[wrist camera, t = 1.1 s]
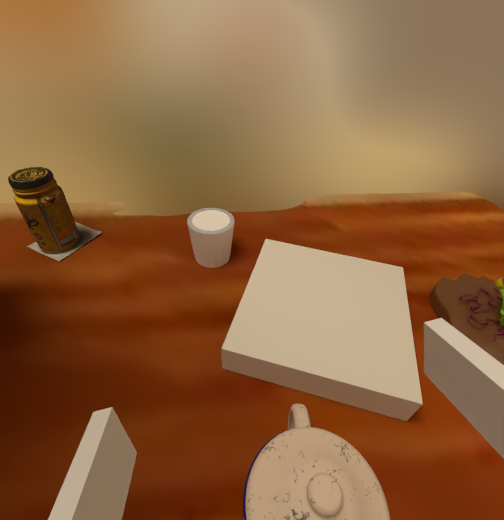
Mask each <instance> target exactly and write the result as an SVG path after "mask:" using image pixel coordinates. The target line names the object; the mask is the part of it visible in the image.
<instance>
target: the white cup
mask: <svg viewBox="0 0 504 520" xmlns="http://www.w3.org/2000/svg"><path fill="white" fill-rule="evenodd" d="M187 224H188V228H189V233H190V237H191V242H192V247H193V251H194V256H195V259H196V261H197V263H199V264H200V265H201V266H204V267H207V268H216V267H220V266H223V265H224V264H226V263H227V262H228V260H229V259H230V253H231V245H232V236H233V228H234V217H233V216H232V214H231V213H229V212H227V211H226V210H222V209H218V208H205V209H200V210H198V211H195V212H193V213H192V214H191V215H190V216H189V217H188V221H187Z"/></svg>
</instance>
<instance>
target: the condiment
mask: <svg viewBox="0 0 504 520" xmlns="http://www.w3.org/2000/svg"><path fill="white" fill-rule="evenodd" d="M8 180H9V183H10V185H11V187H12V189H13V192H14V193H15V196H14V200H15V202H16V204H17V206H18V208H19V210H20V212H21V213H22V215H23V217H24V219H25V221H26V223H27V225H28V227H29V228H30V231H31V233H32V235H33V237H34V238H35V240H36V242H34V243H33V244H31V245H29V246H27V247H29V248H31V249H33V250H35V251H37V252H39V253H41V254H43V255H46V256H48V257H50V258H53V259H55V260H57V261H60V260H62V259H63V258H65V257H67V256H68V255H70V254H71V253H73V252H75V251H76V250H77V249H79V248H80V247H82V246H83V245H84V244H85V243H87V242H89V241H90V240H92V239H94V238H95V237H96V236H97V235H99V234H100V233H102V232H100V231H97V230H94V229H91V228H89V227H86V226H84V225H82V224H79V223H77V222H75V221H74V218H73V216H72V213H71V211H70V208H69V206H68V203H67V201H66V198H65V196H64V193H63V191H62V189H61V188H60V186H58V185H57V183H56V180H55V179H54V178H53V174H52V172H51V171H50V170H48V169H47V168H42V167H30V168H24V169H21V170H18V171H16V172H14V173H12V174H11V175H10V176H9V178H8Z"/></svg>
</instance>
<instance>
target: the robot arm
mask: <svg viewBox="0 0 504 520" xmlns="http://www.w3.org/2000/svg"><path fill="white" fill-rule="evenodd" d="M424 373H425V374H426V376H427V377H428V378H429V379H430V380H431V381H432V382H433V383H434V384H435V385H436V386H437V387H438V388H439V390H440V391H441V392H442V393H443V394H444V395H445V396H446V397H447V398H448V399H449V400H450V401H451V403H452V404H453V405H454V406H455V407H456V408H457V409H458V410H459V411H460V412H461V413H462V414H463V415H464V417H465V418H466V419H467V420H468V421H469V422H470V423H471V424H472V425H473V426H474V427H475V428H476V430H477V431H478V432H479V433H480V434H481V435H482V436H483V437H484V438H485V439H486V440H487V441H488V442H489V444H490V445H491V446H492V447H493V448H494V449H495V450H496V451H497V452H498V453H499V454H500V455H501V457H502V458H503V459H504V365H503V364H501V363H500V362H499V361H497V360H496V359H495V358H493V357H492V356H491V355H490V354H488V353H487V352H486V351H484V350H483V349H482V348H480V347H479V346H478V345H476V344H475V343H474V342H472V341H471V340H470V339H469V338H467V337H466V336H465V335H463V334H462V333H461V332H459V331H458V330H457V329H455V328H454V327H453V326H452V325H450V324H449V323H448V322H446V321H445V320H444V319H442V318H439V319H435V320H432V321H428V322H424ZM136 455H137V452H136V450H135V448H134V446H133V444H132V442H131V441H130V439H129V437H128V435H127V433H126V431H125V429H124V428H123V426H122V424H121V422H120V420H119V418H118V416H117V415H116V413H115V411H114V409H113V407H110V408H106V409H103V410H99V411H95V412H93V414H92V416H91V419H90V421H89V423H88V426H87V428H86V431H85V433H84V435H83V438H82V440H81V442H80V445H79V447H78V449H77V452H76V454H75V457H74V459H73V461H72V464H71V466H70V468H69V471H68V473H67V476H66V478H65V480H64V483H63V485H62V487H61V490H60V492H59V494H58V497H57V499H56V502H55V504H54V506H53V509H52V511H51V513H50V516H49V518H48V520H122V516H123V512H124V508H125V503H126V499H127V494H128V490H129V486H130V481H131V477H132V473H133V468H134V464H135V459H136Z"/></svg>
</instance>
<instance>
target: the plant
mask: <svg viewBox="0 0 504 520" xmlns="http://www.w3.org/2000/svg"><path fill="white" fill-rule="evenodd" d="M430 303H431V306H432V308H433V310H434V312H435V313H436V315H437V317H438V319H439V318H442V319H444V320H445V321H446V322H448V323H449V324H450V325H452V326H453V327H454V328H455V329H457V330H458V331H459V332H461V333H462V334H463V335H465V336H466V337H467V338H469V339H470V340H471V341H472V342H474V343H475V344H476V345H478V346H479V347H480V348H482V349H483V350H484V351H486V352H487V353H488V354H490V355H491V356H492V357H493V358H495V359H496V360H497V361H499V362H500V363H501V364H503V365H504V279H498V280H497V281H496V282H495V281H492V280H490V279H488V278H486V277H480V278H476V277H472V276H469V275H465V274H463V275H461V276H460V277H459V279H458V280H455V281H454V280H450V279H446V278H442V279H441V280H440V281H439V282H438V283H437V284H436V285H435V287H434V289H433V290H432V292H431V294H430Z"/></svg>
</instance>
